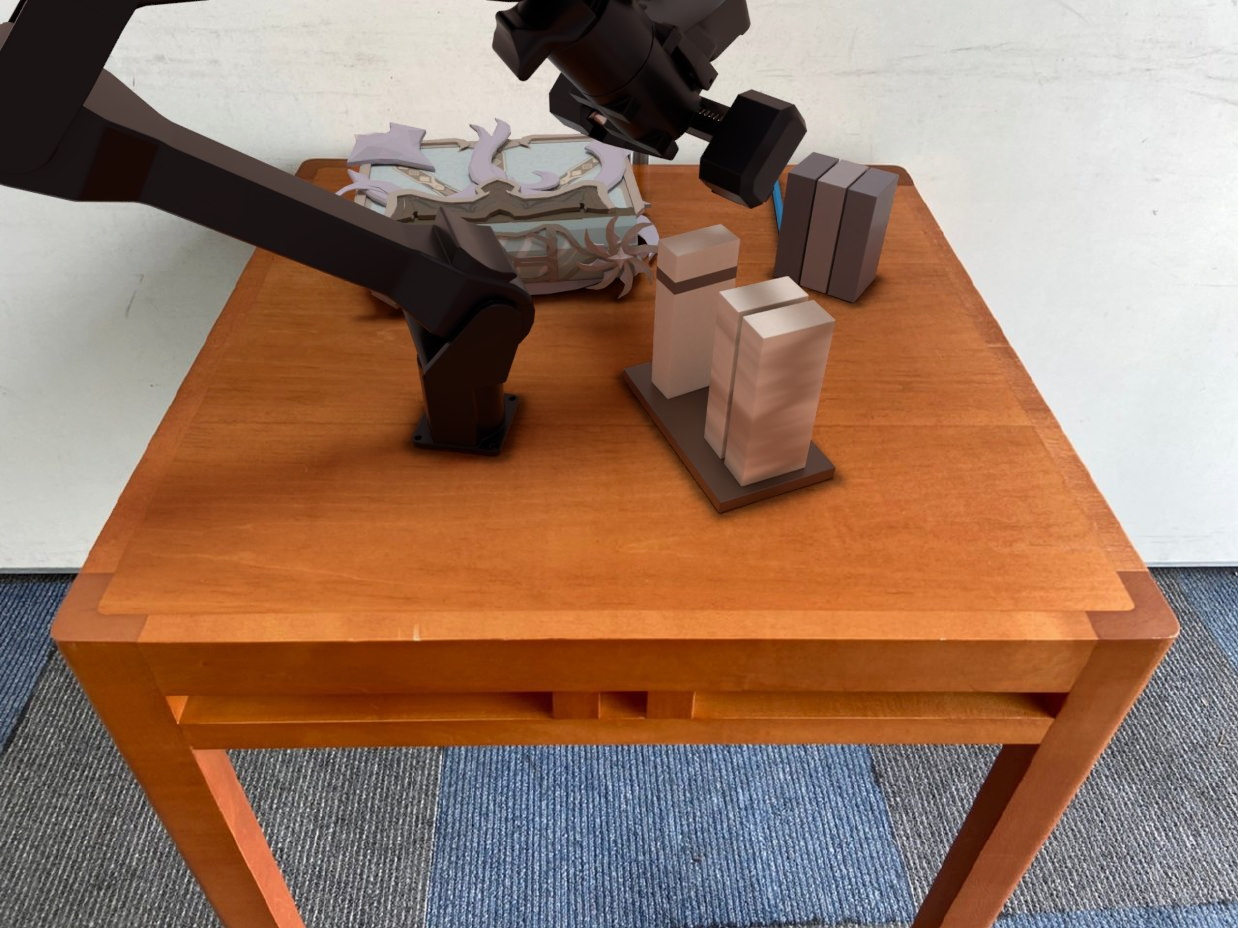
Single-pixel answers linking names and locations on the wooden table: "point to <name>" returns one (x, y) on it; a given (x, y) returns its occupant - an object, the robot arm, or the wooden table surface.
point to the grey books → (834, 225)
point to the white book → (690, 305)
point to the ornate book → (516, 199)
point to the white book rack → (751, 397)
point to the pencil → (778, 203)
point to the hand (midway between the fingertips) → (719, 174)
